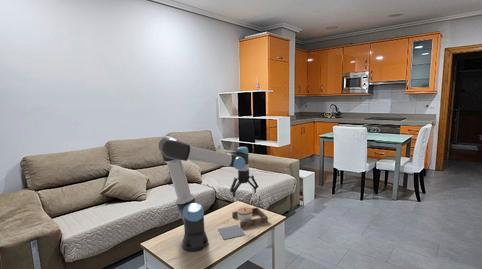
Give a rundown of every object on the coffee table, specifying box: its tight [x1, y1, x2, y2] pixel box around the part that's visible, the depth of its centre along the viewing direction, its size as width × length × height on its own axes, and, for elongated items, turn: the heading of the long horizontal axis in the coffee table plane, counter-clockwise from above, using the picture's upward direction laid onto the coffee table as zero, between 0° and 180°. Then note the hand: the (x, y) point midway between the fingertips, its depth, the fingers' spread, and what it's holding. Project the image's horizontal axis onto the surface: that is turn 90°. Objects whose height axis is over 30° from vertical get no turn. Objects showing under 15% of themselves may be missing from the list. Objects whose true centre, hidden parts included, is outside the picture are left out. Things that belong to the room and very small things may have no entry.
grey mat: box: [217, 224, 246, 241], centre depth 173 cm, size 14×14×1 cm
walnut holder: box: [231, 207, 269, 229], centre depth 189 cm, size 20×17×4 cm
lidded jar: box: [236, 206, 254, 222], centre depth 187 cm, size 11×11×9 cm
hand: (244, 199), depth 186 cm, fingers open, 13 cm apart
